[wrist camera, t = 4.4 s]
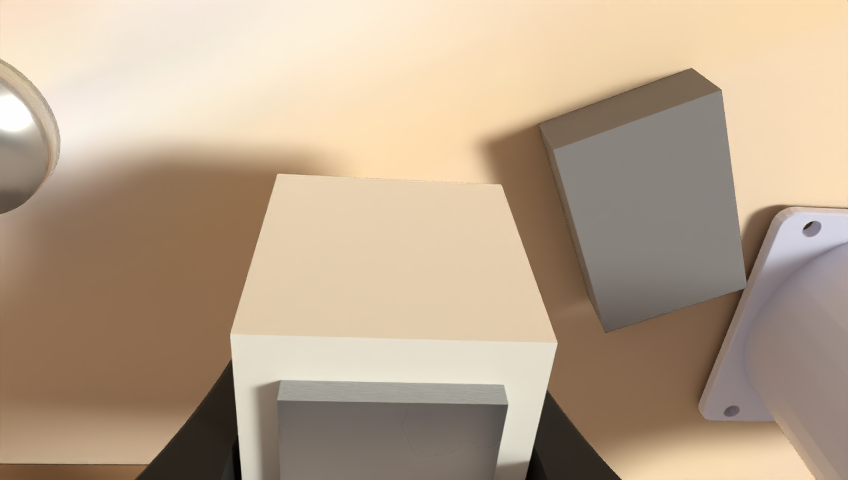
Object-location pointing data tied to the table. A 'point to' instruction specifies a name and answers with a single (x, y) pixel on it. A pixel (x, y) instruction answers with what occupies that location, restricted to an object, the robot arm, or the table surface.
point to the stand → (70, 472)
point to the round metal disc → (24, 138)
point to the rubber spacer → (649, 198)
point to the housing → (389, 335)
